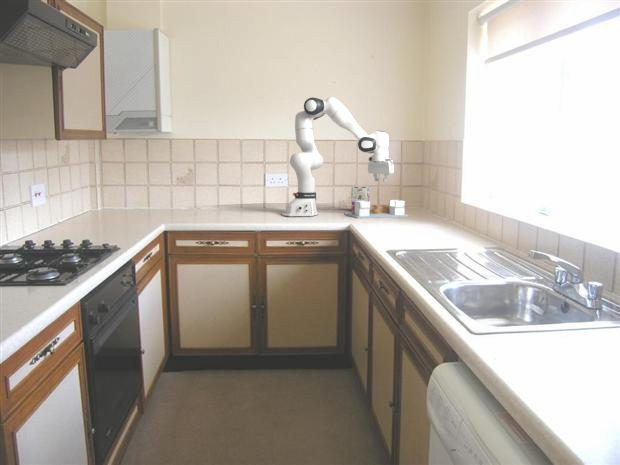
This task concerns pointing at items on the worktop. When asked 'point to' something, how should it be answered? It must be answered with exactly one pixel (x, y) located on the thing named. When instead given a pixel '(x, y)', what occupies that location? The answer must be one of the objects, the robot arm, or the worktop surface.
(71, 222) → the worktop surface
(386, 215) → the grey base with supports
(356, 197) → the candy bar box
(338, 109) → the robot arm
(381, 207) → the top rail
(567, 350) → the worktop surface
